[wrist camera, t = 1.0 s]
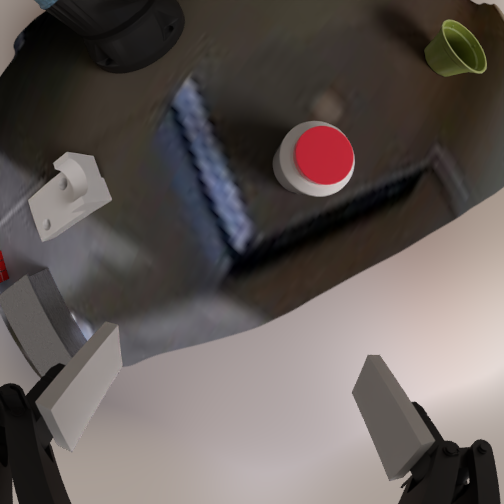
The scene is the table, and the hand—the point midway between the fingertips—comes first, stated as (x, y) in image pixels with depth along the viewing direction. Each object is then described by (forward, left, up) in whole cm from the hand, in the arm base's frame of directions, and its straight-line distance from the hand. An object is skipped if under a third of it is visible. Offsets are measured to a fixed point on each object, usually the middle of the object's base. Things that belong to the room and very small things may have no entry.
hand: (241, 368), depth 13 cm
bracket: (-18, -21, -24) cm, 37 cm away
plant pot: (-18, +42, -24) cm, 52 cm away
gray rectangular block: (-3, -37, -24) cm, 44 cm away
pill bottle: (-8, +11, -24) cm, 28 cm away
